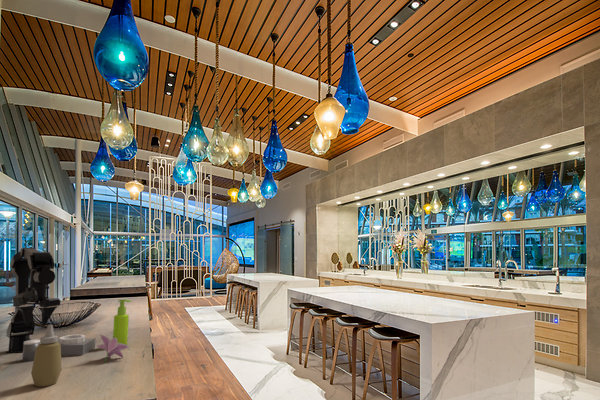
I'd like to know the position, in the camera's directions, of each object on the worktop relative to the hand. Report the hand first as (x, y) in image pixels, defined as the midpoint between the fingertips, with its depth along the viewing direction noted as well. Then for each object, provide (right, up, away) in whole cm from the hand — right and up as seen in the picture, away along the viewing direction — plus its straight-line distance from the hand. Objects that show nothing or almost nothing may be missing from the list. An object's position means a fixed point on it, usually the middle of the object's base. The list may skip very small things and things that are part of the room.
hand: (35, 325), depth 153 cm
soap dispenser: (+24, -16, +20) cm, 35 cm away
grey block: (-1, -13, -2) cm, 13 cm away
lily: (+30, -13, -2) cm, 33 cm away
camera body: (+8, -14, +10) cm, 19 cm away
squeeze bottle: (+23, -9, -29) cm, 38 cm away
